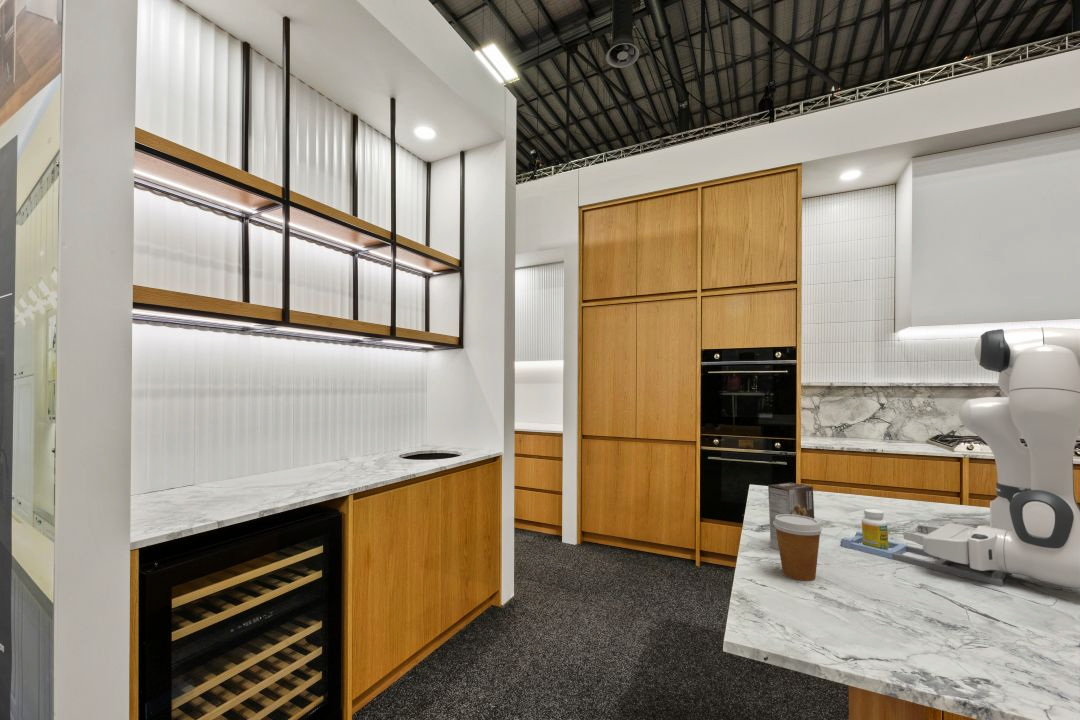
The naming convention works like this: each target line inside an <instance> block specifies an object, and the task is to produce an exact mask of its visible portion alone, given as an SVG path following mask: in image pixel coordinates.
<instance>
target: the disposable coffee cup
mask: <svg viewBox="0 0 1080 720" xmlns="http://www.w3.org/2000/svg"><path fill="white" fill-rule="evenodd" d="M773 524H774V526H775V528H776V533H777V540H778V546H779V550H778V551H779V552H778V553H779V559H780V564H781V569H782V570H781V571H782V573H783V574H784V576H786V577H788V578H790V579H793V580H799V581H806V582H807V581H808V582H809V581H815V579H816V576H817V565H818V558H819V548H820V538H821V536H820V535H821V533H822V531H823V528H822V526H821V523H820V521H819V520H817V519H815V518H814V519H813V518H810V517H806V516H800V515H792V514H781V515H777V516H775V521H773Z"/></svg>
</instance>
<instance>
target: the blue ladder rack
mask: <svg viewBox="0 0 1080 720" xmlns="http://www.w3.org/2000/svg"><path fill="white" fill-rule="evenodd" d="M839 542H840V546H841V547H842V548H846V549H851V548H852V550H856V551H859V552H864V553H867V554H871V555H875V556H878V557H883V558H887V559H890V558H891V559H890V560H894V561H900V562H903V563H907V564H912V565H915V566H920V567H923V568H926V569H930V570H931V569H932V570H934V571H939V572H942V573H946V574H951V575H954V574H955V575H954V576H958V575H959V577H961V578H962V577H963V578H965V579H970V580H973V579H974V580H973V581H978V582H981V581H982V583H985V582H986V584H989V583H990V585H993V584H994V586H997V585H998V587H1003V586H1004V579H1005V577H1006V576H1009V577H1013V576H1014V574H1010V573H1006V572H1001V571H995V570H988V571H987V572H991V571H992V572H991V573H992V574H990V575H986V574H982V573H979V572H978V573H977V572H974V571H970V570H965V569H962V568H958V567H954V566H951V565H950V564H951V563H953V561H949V560H946V559H942V558H939V557H936V556H932V555H930V554H928V553H926V552H924V551H923V548H921V547H917V546H916V547H915V546H911V545H908V544H904V543H901V542H897V541H893V540H892V541H891V540H888V548H890V549H888V551H887V550H883V549H879V548H874V547H870V546H866V545H863V536H862V530H861V531H860V530H859V531H856V532H855V534H854V536H853V537H851V538H850V537H845V536H843V537H841V540H840V541H839ZM861 542H862V543H861ZM859 543H860V544H859ZM906 552H908V553H912V554H917V555H920V556H925V557H928V558H932V557H933V558H932V559H936V558H937V560H935V561H934V562H933V561H930V560H924V559H921V558H917V557H914V556H909V555H904V554H905V553H906ZM954 564H957V562H954ZM958 565H962V564H961V563H959V564H958ZM966 565H967V567H970V564H963V566H966Z"/></svg>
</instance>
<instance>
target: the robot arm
mask: <svg viewBox="0 0 1080 720" xmlns="http://www.w3.org/2000/svg"><path fill="white" fill-rule="evenodd" d="M974 355H975V359H976V361H977V362H978V364H979V366H980V367H981V368H983V369H985V370H988V371H992V372H996V373H999V374H998V379H997V385H998V387H999V389H1000V390H1001V392H1003V393H1004V394H1005V396H985V397H979V398H978V397H977V398H971V399H967V400H966V401H965V402H964V403H963V404H961V406H960V408H959V411H958V412H959V413H958V415H959V420H960V422H961V424H962V426H963V427H964V428H966V430H968V431H969V432H971V433H973V434H975V435H976V436H978V438H981V440H983V441H984V443H986V444H987V446H988V448H989V449H990V450H991V452H992V455H993V457H994V460H995V466H996V474H997V482H996V483H995V491H996V493H995V494H996V497H995V499H993V500H991V501H990V502H989V523H987V524H983V525H977V527H974V526H969V525H963V524H958V523H953V522H949V523H946V524H944V525H943V526H938V525H936V526H935V525H926V524H918V525H917V526H916V527H917V528H916V530H917V532H918V533H919V534H918V533H916V532H913V531H908V530H906V531H904V532H903V539H904V540H905V541H910V542H914V544H918V545H920V546H922V549H923V551H924V552H926V553H928V554H930V555H932V556H936V557H939V558H942V559H946V560H949V561H953V562H957V563H961V564H960V565H962V564H970V566H969V568H970V569H972V570H976V571H981V572H983V571H987V570H995V571H1001V572H1006V573H1010V574H1013V575H1024V576H1027V577H1030V578H1033V579H1035V580H1037V581H1039V582H1040V581H1041V582H1044V583H1049V584H1053V585H1059V586H1062V587H1069V588H1073V589H1074V588H1075V589H1080V506H1079V504H1078V502H1077V500H1076V497H1075V485H1074V484H1075V482H1074V452H1075V446H1076V442H1077V439H1078V436H1080V328H1070V327H1069V328H1068V327H1043V326H1042V327H1028V328H1014V329H1013V328H1012V329H1003V328H1000V329H998V328H997V329H993V330H988V331H985V332H984V333H982V334H981V335H980V338H979V339H978V340H977V342H976V343H975V346H974ZM1021 437H1022V438H1023V440H1024V442H1025V444H1026V445H1027V446H1026V445H1024V444H1023V443H1022V442H1021V439H1020V438H1021ZM953 562H952V563H953ZM957 563H956V564H957Z"/></svg>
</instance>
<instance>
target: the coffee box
mask: <svg viewBox="0 0 1080 720" xmlns="http://www.w3.org/2000/svg"><path fill="white" fill-rule="evenodd" d="M767 486H768V487H767V488H768V511H769V512H768V514H769V536H770V537H769V541H770V548H771V549H774V550H776V551H779V546H778V540H777V533H776V528H775V526H774V524H773V521H775V516H777V515H781V514H792V515H800V516H806V517H810V518H813V519H815V504H814V502H815V500H814V486H811V485H806V484H801V483H795V482H783V483H777V484H776V483H775V484H768V485H767Z"/></svg>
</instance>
